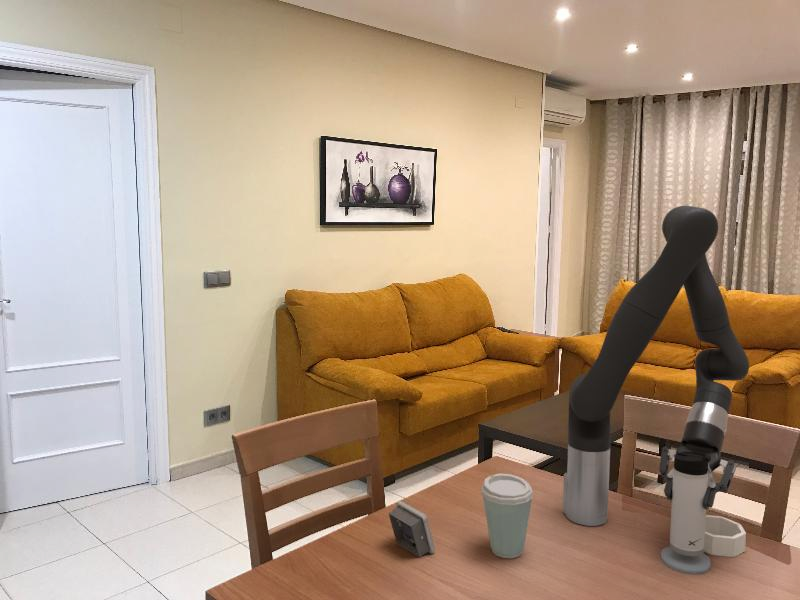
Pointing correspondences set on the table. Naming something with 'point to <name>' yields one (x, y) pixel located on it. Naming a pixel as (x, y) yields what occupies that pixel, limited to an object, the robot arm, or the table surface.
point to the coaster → (685, 562)
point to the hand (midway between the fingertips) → (686, 502)
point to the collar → (723, 537)
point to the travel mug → (689, 503)
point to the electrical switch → (411, 529)
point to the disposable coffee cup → (507, 513)
